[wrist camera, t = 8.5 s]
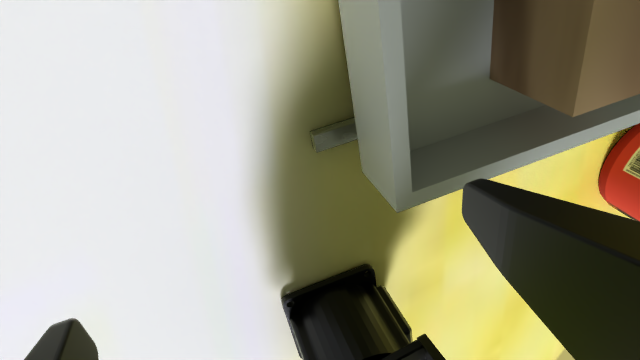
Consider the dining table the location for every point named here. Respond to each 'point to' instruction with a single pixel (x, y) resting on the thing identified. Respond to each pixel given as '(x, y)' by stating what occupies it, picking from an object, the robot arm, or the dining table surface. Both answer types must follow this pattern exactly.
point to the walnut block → (567, 51)
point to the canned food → (623, 175)
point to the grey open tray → (447, 101)
